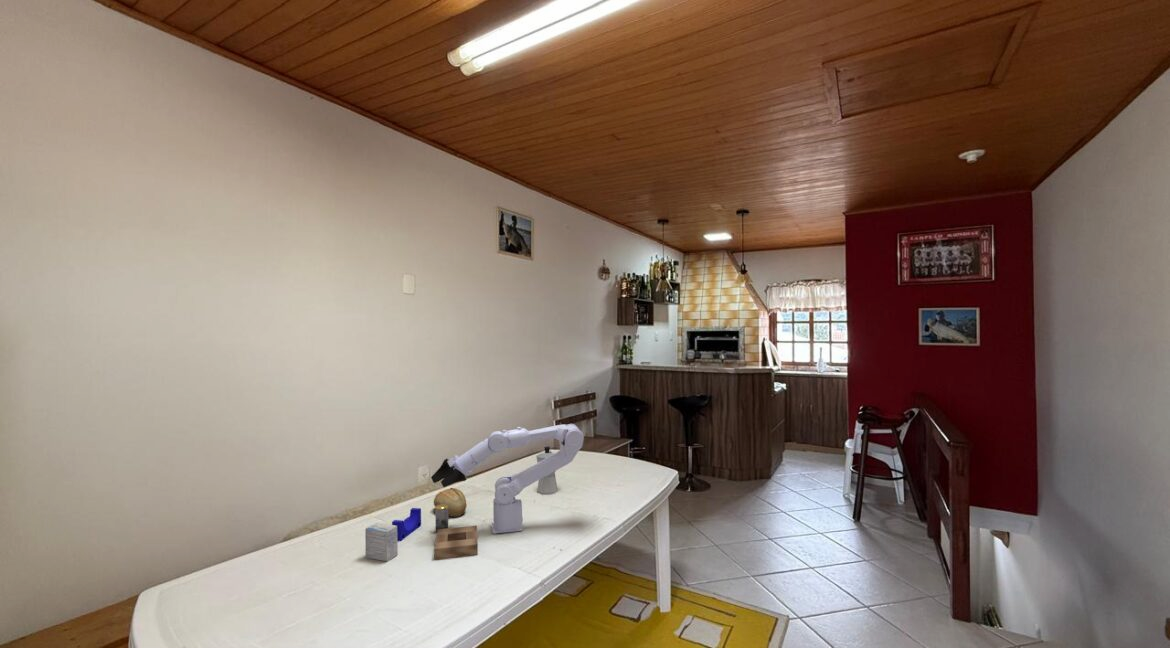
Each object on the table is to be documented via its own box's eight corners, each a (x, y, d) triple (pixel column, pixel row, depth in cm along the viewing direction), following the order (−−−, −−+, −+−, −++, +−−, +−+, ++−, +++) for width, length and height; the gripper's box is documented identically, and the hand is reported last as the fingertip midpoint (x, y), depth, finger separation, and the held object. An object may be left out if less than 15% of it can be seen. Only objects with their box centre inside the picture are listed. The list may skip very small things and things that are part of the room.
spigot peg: (448, 528, 156) (448, 503, 156) (448, 533, 152) (448, 508, 152) (435, 529, 155) (435, 504, 155) (435, 534, 151) (435, 509, 151)
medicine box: (398, 555, 137) (398, 525, 137) (387, 562, 132) (387, 531, 133) (376, 551, 139) (376, 522, 139) (364, 558, 135) (364, 527, 135)
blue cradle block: (408, 525, 159) (408, 507, 159) (421, 526, 158) (421, 508, 158) (387, 540, 147) (387, 521, 147) (400, 541, 146) (400, 522, 146)
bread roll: (450, 503, 179) (450, 482, 179) (473, 513, 169) (473, 490, 169) (427, 510, 171) (427, 488, 172) (450, 521, 162) (450, 497, 162)
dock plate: (476, 534, 150) (476, 525, 150) (477, 554, 136) (477, 544, 137) (437, 539, 147) (437, 529, 147) (434, 559, 134) (434, 549, 134)
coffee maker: (556, 496, 185) (556, 450, 186) (534, 496, 186) (534, 450, 186) (559, 484, 200) (559, 441, 201) (538, 484, 200) (538, 442, 201)
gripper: (476, 452, 162) (441, 476, 160) (460, 441, 150) (422, 467, 147) (485, 469, 159) (450, 494, 156) (470, 460, 146) (431, 486, 144)
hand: (437, 482), depth 152 cm, fingers open, 7 cm apart
